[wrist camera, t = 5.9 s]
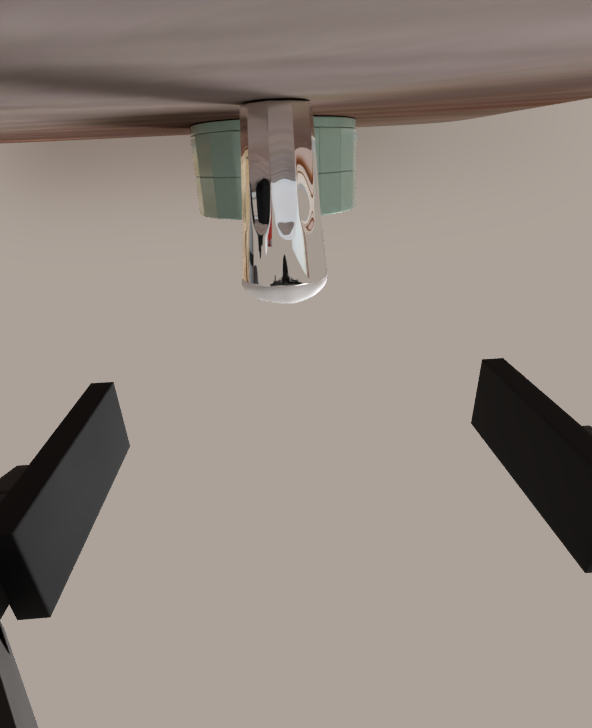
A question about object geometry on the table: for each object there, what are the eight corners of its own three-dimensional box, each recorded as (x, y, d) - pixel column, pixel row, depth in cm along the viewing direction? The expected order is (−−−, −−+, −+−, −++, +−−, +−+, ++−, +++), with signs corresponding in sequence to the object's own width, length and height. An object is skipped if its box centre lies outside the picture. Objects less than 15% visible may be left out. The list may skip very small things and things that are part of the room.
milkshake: (247, 112, 22) (261, 295, 27) (210, 102, 18) (234, 327, 22) (333, 106, 22) (333, 297, 26) (318, 94, 17) (321, 329, 21)
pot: (201, 131, 37) (210, 204, 40) (175, 121, 26) (189, 223, 29) (341, 125, 37) (341, 198, 40) (373, 113, 27) (369, 214, 29)
